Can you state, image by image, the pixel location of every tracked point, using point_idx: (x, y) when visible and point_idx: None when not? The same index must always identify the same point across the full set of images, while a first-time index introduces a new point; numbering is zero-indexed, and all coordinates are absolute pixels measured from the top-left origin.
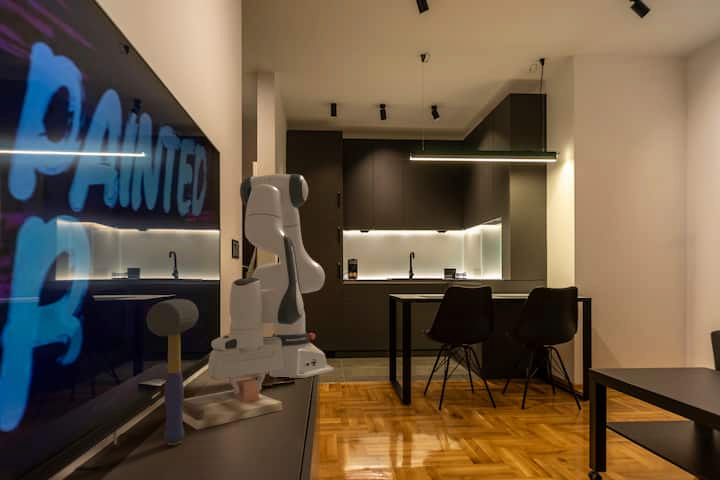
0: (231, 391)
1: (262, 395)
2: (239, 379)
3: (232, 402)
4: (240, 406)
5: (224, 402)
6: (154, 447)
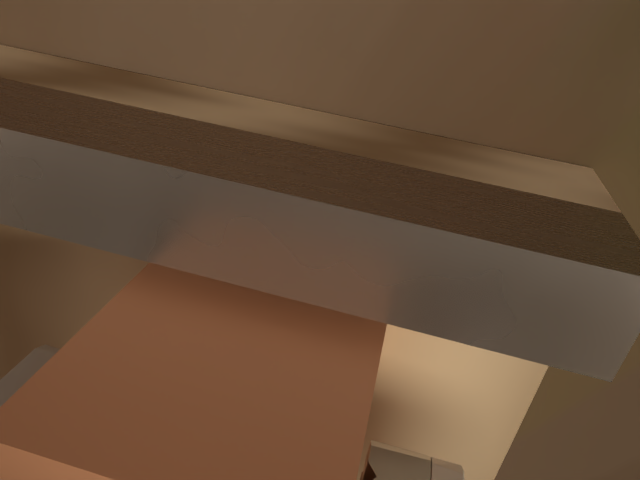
0: (59, 230)
1: (520, 391)
2: (41, 476)
3: (83, 312)
4: None
5: (12, 233)
6: None
